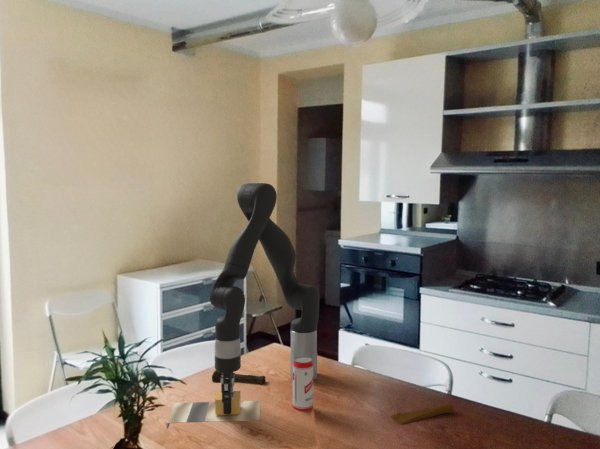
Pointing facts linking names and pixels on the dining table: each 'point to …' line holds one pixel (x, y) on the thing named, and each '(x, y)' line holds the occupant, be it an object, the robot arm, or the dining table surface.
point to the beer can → (303, 383)
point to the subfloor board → (211, 412)
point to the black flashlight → (240, 378)
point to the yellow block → (234, 403)
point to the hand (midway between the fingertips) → (228, 408)
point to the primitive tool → (422, 413)
